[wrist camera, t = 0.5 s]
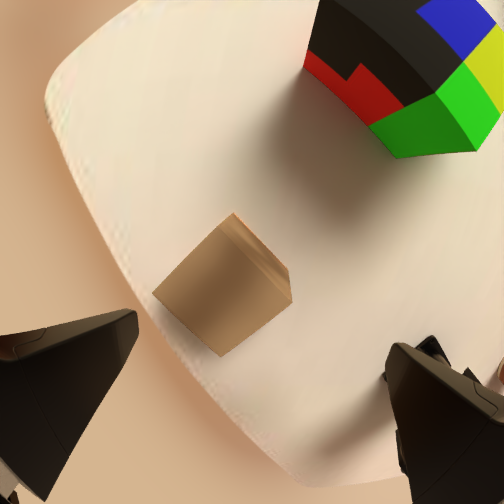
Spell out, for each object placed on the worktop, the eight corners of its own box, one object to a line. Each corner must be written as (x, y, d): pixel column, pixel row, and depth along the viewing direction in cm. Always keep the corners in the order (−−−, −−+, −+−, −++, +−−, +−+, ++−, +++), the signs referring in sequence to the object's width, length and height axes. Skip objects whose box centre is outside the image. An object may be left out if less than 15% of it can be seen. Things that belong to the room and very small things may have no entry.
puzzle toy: (375, 11, 15) (416, -52, 5) (454, 92, 16) (527, 67, 6) (302, 66, 17) (321, -8, 7) (395, 158, 18) (476, 151, 9)
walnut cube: (288, 269, 21) (292, 302, 16) (233, 315, 23) (220, 357, 17) (233, 212, 21) (217, 225, 15) (181, 264, 22) (151, 293, 16)
